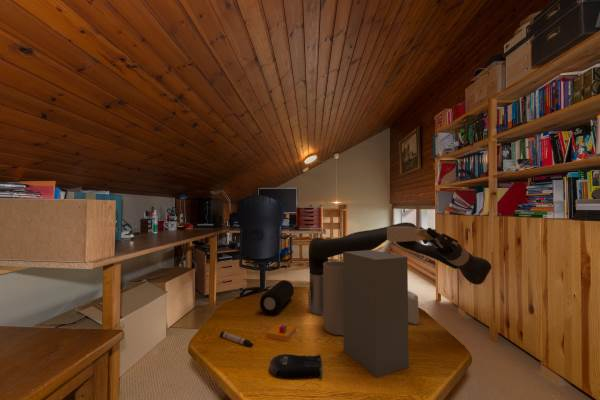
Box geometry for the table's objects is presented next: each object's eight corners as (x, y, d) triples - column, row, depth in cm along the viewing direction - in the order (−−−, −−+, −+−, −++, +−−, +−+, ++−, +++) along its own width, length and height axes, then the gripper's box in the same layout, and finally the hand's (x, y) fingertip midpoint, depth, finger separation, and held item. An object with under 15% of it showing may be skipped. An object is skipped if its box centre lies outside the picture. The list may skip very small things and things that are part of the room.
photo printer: (392, 317, 115) (391, 288, 115) (397, 315, 117) (397, 287, 118) (415, 325, 107) (414, 294, 107) (420, 323, 109) (419, 292, 110)
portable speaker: (277, 297, 142) (277, 278, 142) (295, 299, 139) (295, 279, 140) (257, 315, 117) (258, 292, 117) (279, 317, 114) (279, 294, 115)
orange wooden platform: (266, 339, 96) (266, 326, 96) (276, 330, 103) (276, 318, 103) (286, 343, 93) (287, 330, 93) (295, 333, 100) (295, 321, 100)
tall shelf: (372, 342, 92) (371, 250, 94) (408, 367, 78) (407, 257, 79) (343, 350, 87) (343, 251, 89) (376, 377, 73) (375, 259, 74)
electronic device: (319, 366, 81) (270, 358, 82) (322, 349, 81) (273, 341, 81) (320, 390, 72) (266, 381, 72) (324, 371, 72) (269, 362, 72)
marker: (219, 338, 96) (219, 332, 96) (224, 335, 98) (224, 330, 98) (251, 349, 88) (251, 343, 88) (255, 347, 89) (255, 341, 90)
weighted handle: (426, 238, 98) (426, 225, 98) (439, 239, 93) (438, 226, 94) (387, 240, 90) (386, 226, 90) (398, 241, 85) (397, 227, 86)
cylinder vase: (329, 320, 112) (329, 260, 113) (359, 325, 106) (358, 262, 107) (318, 332, 101) (318, 265, 102) (350, 339, 95) (350, 268, 96)
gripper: (439, 241, 107) (411, 219, 101) (474, 245, 94) (445, 221, 88) (433, 258, 105) (404, 237, 99) (468, 264, 92) (437, 241, 87)
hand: (424, 229), depth 94 cm, fingers closed on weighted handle, 3 cm apart
